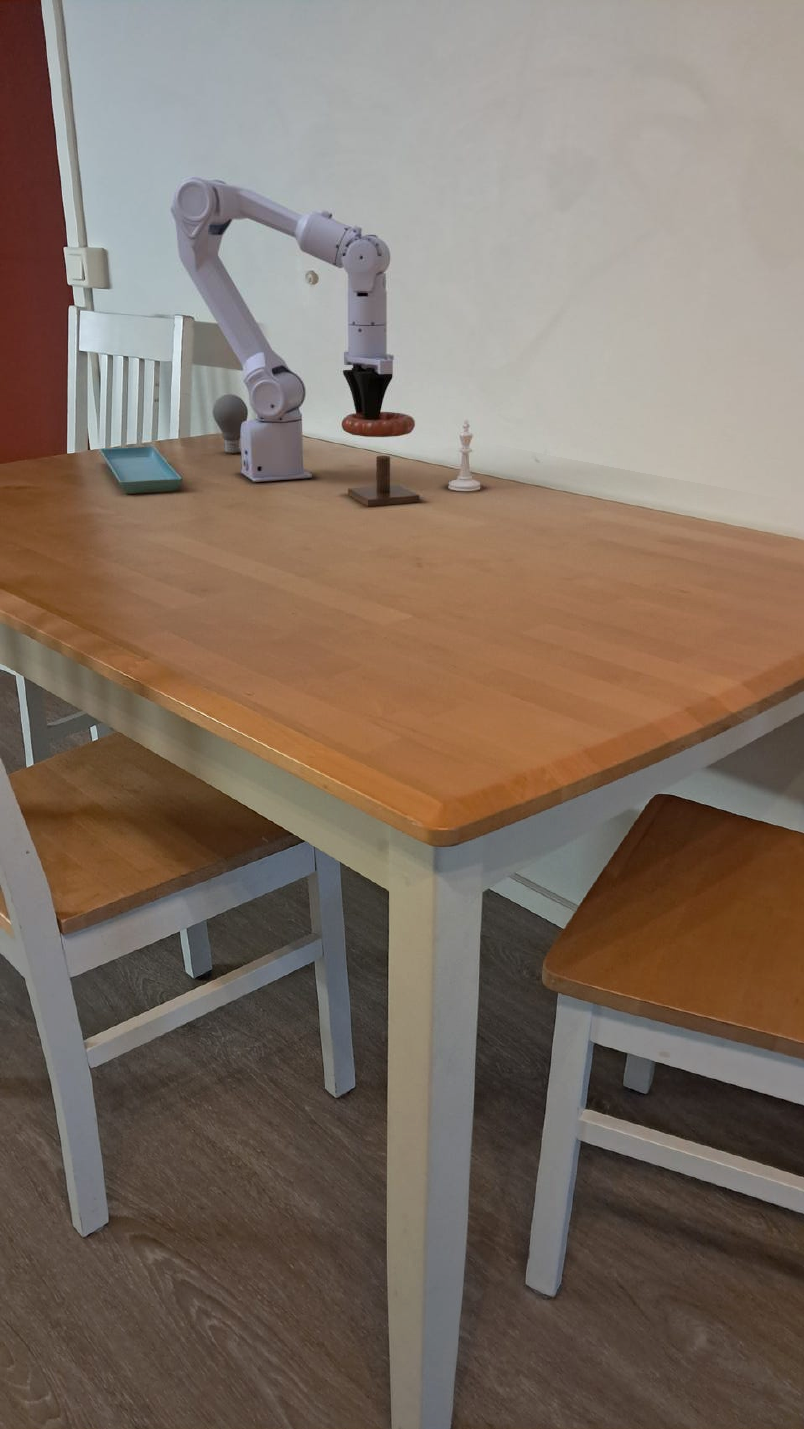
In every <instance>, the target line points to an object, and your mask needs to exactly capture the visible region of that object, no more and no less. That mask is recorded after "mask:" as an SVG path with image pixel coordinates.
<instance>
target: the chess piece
mask: <svg viewBox="0 0 804 1429" xmlns="http://www.w3.org/2000/svg"><path fill="white" fill-rule="evenodd" d="M469 428H470V423H469V420H467V419H465V420H464V425H463V427H462V429H463V430H464V431H463V432H460V433H459V434H458V436H459V439H460V443H461V448H459V449H458V453H461V462H460V468H459V474H458V475H457V476H456V478H457V479H453V480H451V481H449V482H448V489H449V490H451V491H457V492H474V491H479V490H480V489H481V488H482V487H481V483H480V481H478V480H475V479H473V476H472V475H471V468H470V458H469V457H470V456H469V453H473V449H472V448H470V445H471V442H472V439H473V436H474V435H473V433H472V432H469Z"/></svg>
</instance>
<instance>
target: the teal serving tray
mask: <svg viewBox="0 0 804 1429" xmlns="http://www.w3.org/2000/svg"><path fill="white" fill-rule="evenodd" d="M99 453H100V454H101V456H102V458H103V459H104V461H105V463H106V464H107V466H108V468H109V470H110V471H111V473H112V474H113V476H114V477H115V479H116V480H117V482H118V484H119V485H120V487H121V489H122V490H123V491H124V493H125V494H127V495H130V494H131V495H132V494H133V495H134V494H145V493H146V494H148V493H168V492H176V491H177V490H178V488H179V486H180V484H181V482H182V480H183V478H182V476H181V475H179V473H178V472H177V471H176V470H175V469H174V468H173V467H172V465H171V464H170V462H168V461H167V459H166V458H165V457H164V456H163V455H162V453H161V452H160V451H159V450H158V449H157V447H156V446H154V445H147V446H145V445H144V446H128V447H127V446H126V447H111V448H100V449H99Z"/></svg>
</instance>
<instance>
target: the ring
mask: <svg viewBox="0 0 804 1429" xmlns="http://www.w3.org/2000/svg"><path fill="white" fill-rule="evenodd" d="M415 426H416V420H415V419H414V417H413V416H411V415H409V414H405V413H401V412H394V411H393V412H392V411H381V412H380V416H379V419H378V420H365V419H364V416H363V412H360V413H356V412H355V413H354V412H353V413H350V414H348V415H346V416H345V417H344V418H343V419H342V421H341V429H342V430H343V431H344V432H346V433H348V434H350V435H352V436H358V437H365V438H390V437H391V438H393V437H400V436H405V435H409V434H410V433H412V432H413V431H414V429H415Z"/></svg>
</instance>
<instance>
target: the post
mask: <svg viewBox="0 0 804 1429" xmlns="http://www.w3.org/2000/svg"><path fill="white" fill-rule="evenodd" d="M375 458H376V462H375V464H376V467H375V469H376V471H375V473H376V474H375V475H376V478H375V479H376V480H375V482H376V484H375V486H363V487H361V486H360V487H350V488H347V495H348V496H349V497H351V498H352V499H354V500H356V501H357V502H359V503H360V504H363V505H364V506H366V507H377V506H389V505H390V506H391V505H401V504H410V503H411V504H413V503H420V494H418V493H416V492H414V491H412V490H410V489H408V488H406V487H404V486H402V485H400V484H391V456H390V455H378V456H376V457H375Z"/></svg>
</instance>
